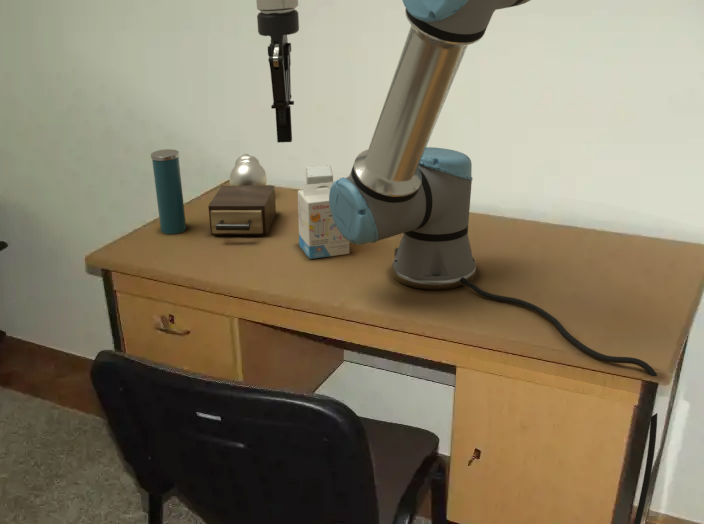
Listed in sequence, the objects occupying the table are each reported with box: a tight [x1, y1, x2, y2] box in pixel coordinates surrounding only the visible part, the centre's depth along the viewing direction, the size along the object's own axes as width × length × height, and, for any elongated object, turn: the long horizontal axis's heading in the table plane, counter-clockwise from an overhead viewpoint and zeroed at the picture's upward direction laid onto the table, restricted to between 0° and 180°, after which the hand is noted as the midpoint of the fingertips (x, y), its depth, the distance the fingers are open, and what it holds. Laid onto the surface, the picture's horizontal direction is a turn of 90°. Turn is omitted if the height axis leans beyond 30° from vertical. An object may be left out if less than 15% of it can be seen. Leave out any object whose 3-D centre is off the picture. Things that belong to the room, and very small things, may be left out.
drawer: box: [210, 209, 263, 234], centre depth 189 cm, size 17×11×5 cm, turn 170°
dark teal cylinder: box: [150, 148, 187, 235], centre depth 190 cm, size 6×6×17 cm
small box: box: [305, 164, 334, 188], centre depth 192 cm, size 8×6×10 cm
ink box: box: [297, 181, 350, 260], centre depth 175 cm, size 9×8×13 cm
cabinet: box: [207, 185, 277, 237], centre depth 192 cm, size 14×12×7 cm
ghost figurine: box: [229, 153, 268, 186], centre depth 208 cm, size 9×10×10 cm
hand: (284, 141), depth 171 cm, fingers closed
